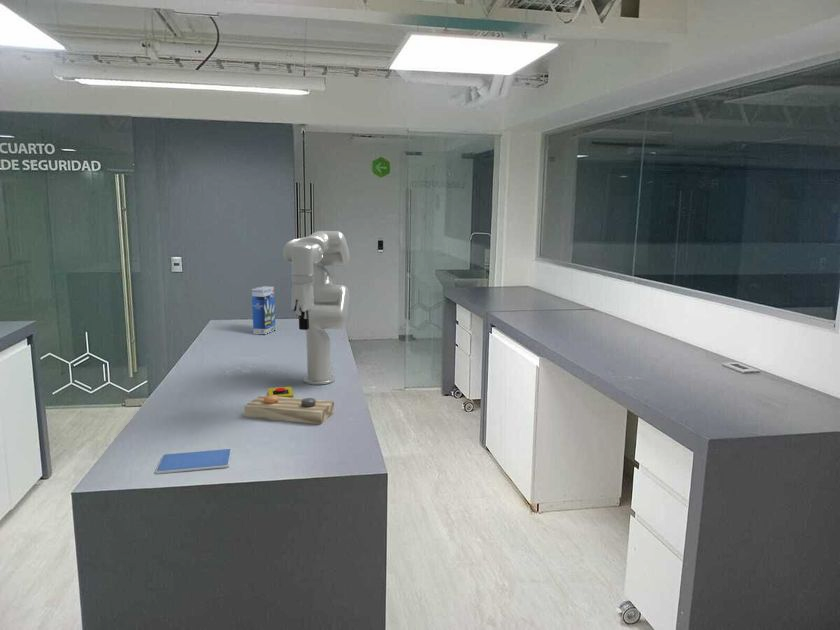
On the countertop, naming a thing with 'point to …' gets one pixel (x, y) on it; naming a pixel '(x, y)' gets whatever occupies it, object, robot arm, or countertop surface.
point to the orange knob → (271, 399)
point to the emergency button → (281, 392)
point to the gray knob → (308, 402)
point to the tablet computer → (194, 461)
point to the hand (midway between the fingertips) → (304, 329)
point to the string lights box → (263, 310)
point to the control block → (289, 410)
